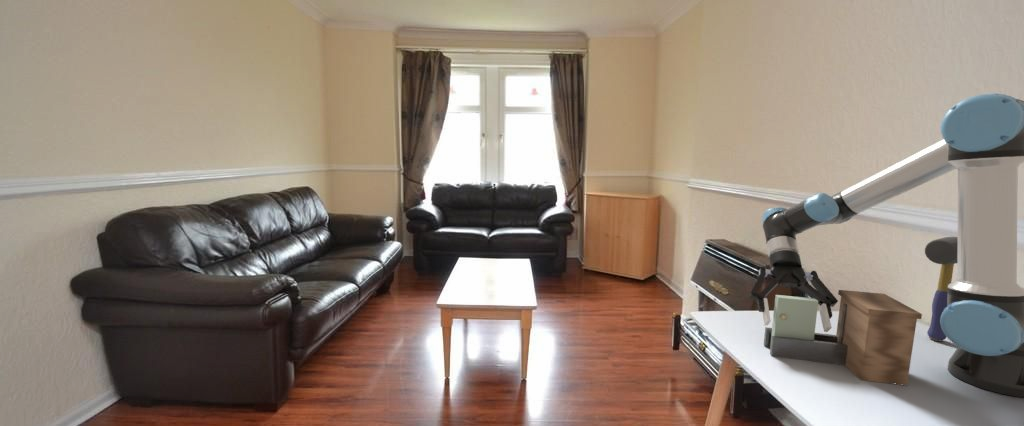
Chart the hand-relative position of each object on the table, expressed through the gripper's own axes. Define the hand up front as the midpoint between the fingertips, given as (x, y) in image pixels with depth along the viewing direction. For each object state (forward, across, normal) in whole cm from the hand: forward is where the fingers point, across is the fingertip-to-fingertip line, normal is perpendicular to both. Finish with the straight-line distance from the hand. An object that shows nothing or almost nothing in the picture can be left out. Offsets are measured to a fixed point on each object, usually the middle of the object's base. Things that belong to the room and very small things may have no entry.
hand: (797, 326), depth 112 cm
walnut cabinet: (+7, -15, -5) cm, 18 cm away
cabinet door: (+4, 0, -8) cm, 9 cm away
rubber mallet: (-12, -44, -24) cm, 51 cm away
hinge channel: (+4, -3, -7) cm, 9 cm away
